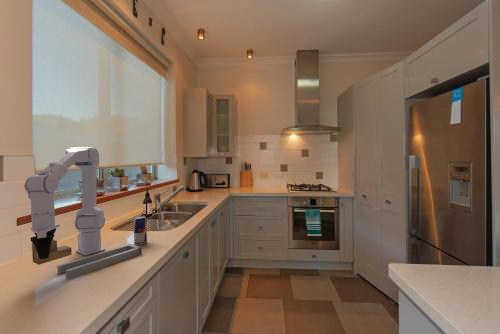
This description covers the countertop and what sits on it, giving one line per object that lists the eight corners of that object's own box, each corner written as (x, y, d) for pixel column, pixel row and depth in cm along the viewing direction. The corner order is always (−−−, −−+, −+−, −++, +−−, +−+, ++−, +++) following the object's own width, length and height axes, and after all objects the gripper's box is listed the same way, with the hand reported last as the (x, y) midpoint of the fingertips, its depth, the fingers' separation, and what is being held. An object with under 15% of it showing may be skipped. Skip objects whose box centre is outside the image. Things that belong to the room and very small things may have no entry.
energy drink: (142, 245, 113) (141, 218, 112) (131, 245, 114) (130, 218, 114) (149, 241, 118) (148, 216, 118) (139, 241, 119) (138, 215, 119)
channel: (57, 272, 87) (57, 265, 87) (130, 249, 108) (130, 243, 108) (67, 279, 82) (67, 271, 82) (141, 253, 103) (141, 247, 103)
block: (32, 262, 80) (31, 243, 80) (65, 252, 87) (64, 235, 87) (38, 264, 77) (37, 245, 77) (71, 254, 85) (70, 237, 85)
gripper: (57, 214, 77) (59, 259, 77) (60, 207, 88) (61, 246, 89) (26, 218, 73) (29, 265, 73) (33, 210, 84) (35, 250, 85)
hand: (45, 255), depth 81 cm, fingers closed on block, 6 cm apart
